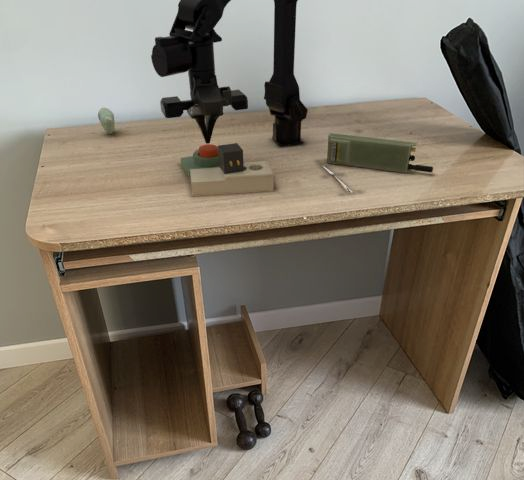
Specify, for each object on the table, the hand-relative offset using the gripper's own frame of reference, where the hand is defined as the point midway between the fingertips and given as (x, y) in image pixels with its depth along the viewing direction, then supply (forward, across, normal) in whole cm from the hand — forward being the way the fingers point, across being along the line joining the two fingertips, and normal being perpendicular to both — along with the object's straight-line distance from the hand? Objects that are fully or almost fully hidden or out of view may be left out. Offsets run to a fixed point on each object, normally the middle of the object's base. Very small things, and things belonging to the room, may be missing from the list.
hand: (207, 142), depth 118 cm
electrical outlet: (+6, +2, -12) cm, 14 cm away
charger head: (+2, +2, -12) cm, 12 cm away
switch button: (+3, 0, 0) cm, 3 cm away
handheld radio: (+6, +38, -14) cm, 41 cm away
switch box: (+6, 0, 0) cm, 6 cm away
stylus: (+6, +26, -15) cm, 31 cm away
